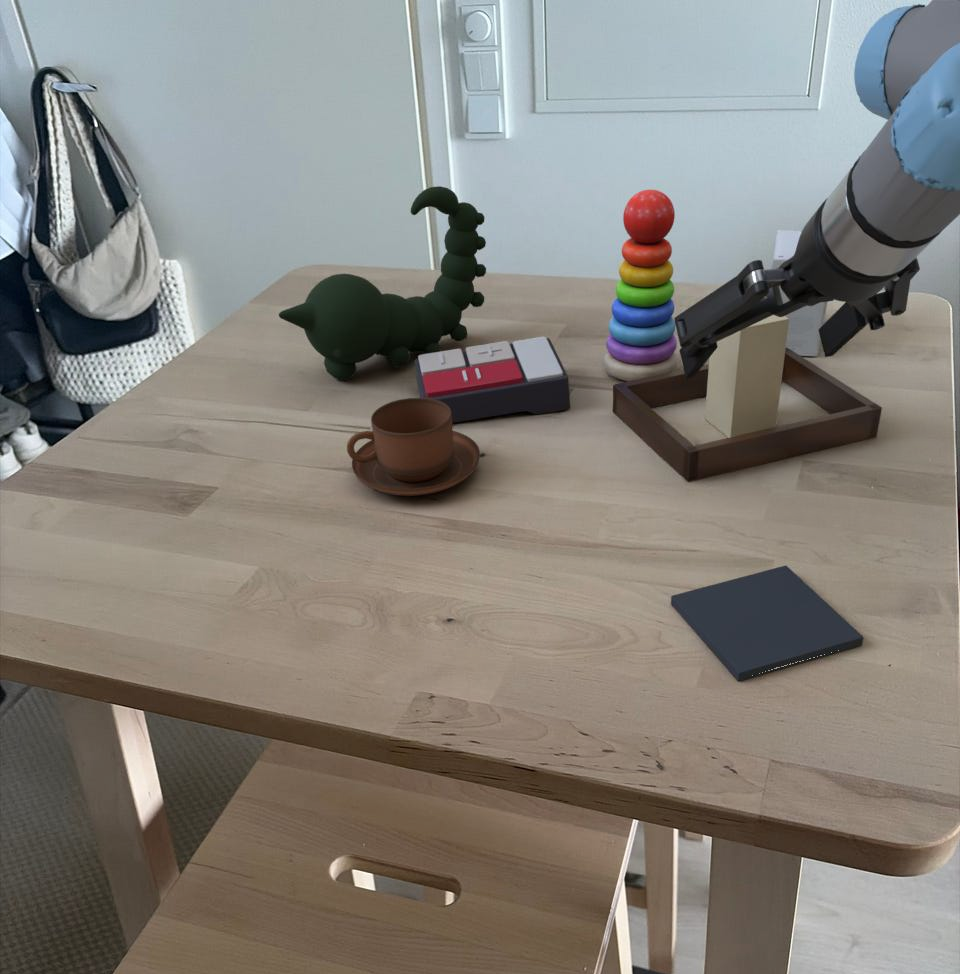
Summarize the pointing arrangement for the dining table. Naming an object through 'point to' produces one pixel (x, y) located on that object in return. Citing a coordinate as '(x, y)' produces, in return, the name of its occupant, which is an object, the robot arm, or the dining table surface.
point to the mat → (765, 622)
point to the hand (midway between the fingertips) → (756, 353)
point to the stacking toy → (644, 293)
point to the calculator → (495, 379)
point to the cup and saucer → (413, 449)
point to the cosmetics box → (805, 319)
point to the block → (747, 378)
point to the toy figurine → (396, 301)
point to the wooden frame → (842, 426)
